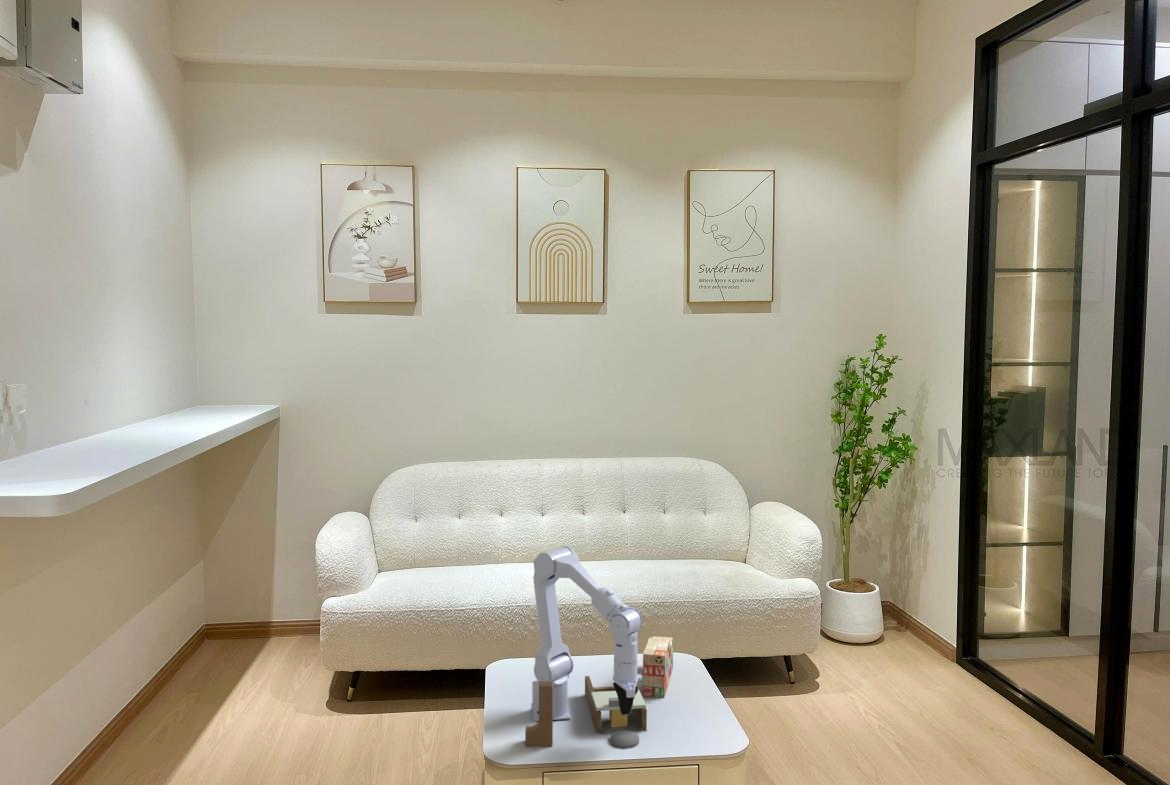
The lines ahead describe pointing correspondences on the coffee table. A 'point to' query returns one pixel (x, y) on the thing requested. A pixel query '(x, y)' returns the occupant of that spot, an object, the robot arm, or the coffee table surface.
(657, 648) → the stack of blocks
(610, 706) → the lid
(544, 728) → the wooden block
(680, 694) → the coffee table surface
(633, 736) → the coaster
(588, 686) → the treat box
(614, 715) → the ochre block
